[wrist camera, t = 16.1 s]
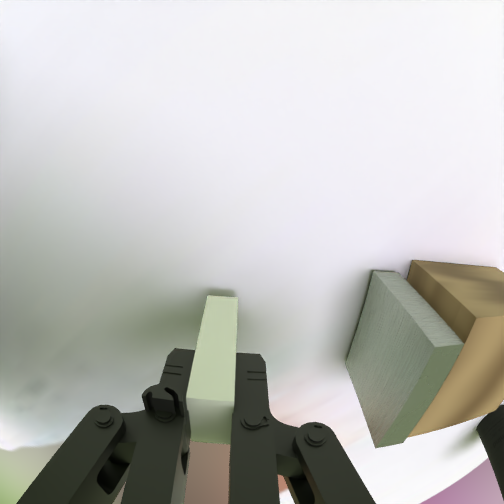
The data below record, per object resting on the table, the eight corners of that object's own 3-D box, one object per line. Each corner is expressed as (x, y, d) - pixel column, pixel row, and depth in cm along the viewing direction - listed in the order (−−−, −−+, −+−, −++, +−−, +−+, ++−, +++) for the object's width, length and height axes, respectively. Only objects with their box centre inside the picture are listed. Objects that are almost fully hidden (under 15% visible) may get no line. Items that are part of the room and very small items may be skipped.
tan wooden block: (375, 367, 18) (407, 437, 12) (412, 259, 15) (476, 317, 9) (458, 358, 18) (495, 410, 12) (496, 267, 15) (553, 310, 9)
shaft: (345, 363, 17) (375, 448, 11) (373, 271, 15) (434, 347, 9) (510, 344, 18) (548, 387, 11) (538, 280, 15) (586, 318, 9)
